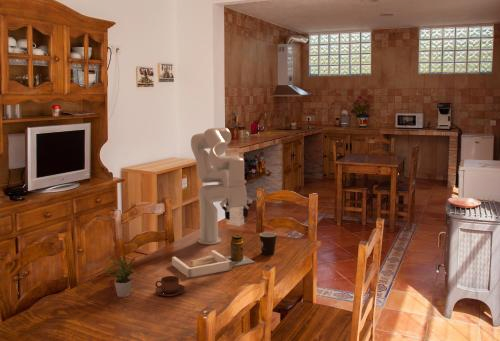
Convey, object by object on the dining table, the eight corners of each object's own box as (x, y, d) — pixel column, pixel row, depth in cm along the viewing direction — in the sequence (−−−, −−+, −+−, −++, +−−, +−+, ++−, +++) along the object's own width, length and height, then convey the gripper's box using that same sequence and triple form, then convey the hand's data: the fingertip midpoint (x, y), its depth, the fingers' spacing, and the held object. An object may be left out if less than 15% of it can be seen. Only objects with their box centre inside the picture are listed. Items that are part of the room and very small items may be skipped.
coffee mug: (276, 256, 273) (276, 236, 271) (259, 256, 273) (259, 236, 271) (276, 249, 284) (276, 230, 283) (259, 249, 284) (259, 230, 283)
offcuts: (189, 272, 250) (189, 261, 249) (211, 265, 260) (211, 254, 259) (195, 274, 247) (195, 263, 246) (218, 267, 257) (218, 256, 256)
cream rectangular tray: (172, 265, 260) (172, 257, 259) (214, 257, 270) (213, 250, 270) (188, 277, 242) (188, 269, 242) (232, 269, 253) (232, 261, 252)
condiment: (246, 259, 265) (246, 236, 263) (233, 263, 260) (233, 239, 258) (237, 256, 271) (237, 233, 269) (224, 260, 265) (223, 236, 263)
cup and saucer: (157, 300, 218) (156, 285, 217) (154, 289, 229) (153, 275, 228) (186, 296, 221) (186, 282, 220) (182, 286, 233) (182, 272, 232)
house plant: (128, 284, 235) (127, 248, 232) (149, 292, 226) (148, 254, 223) (100, 294, 224) (98, 256, 221) (121, 302, 215) (119, 263, 212)
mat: (220, 258, 269) (220, 257, 269) (241, 255, 274) (241, 253, 274) (232, 266, 257) (232, 265, 256) (254, 262, 262) (254, 261, 262)
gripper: (248, 180, 267) (248, 214, 270) (216, 183, 259) (217, 218, 262) (255, 183, 260) (255, 217, 263) (223, 186, 252) (223, 222, 255)
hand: (236, 217), depth 262 cm, fingers open, 9 cm apart
